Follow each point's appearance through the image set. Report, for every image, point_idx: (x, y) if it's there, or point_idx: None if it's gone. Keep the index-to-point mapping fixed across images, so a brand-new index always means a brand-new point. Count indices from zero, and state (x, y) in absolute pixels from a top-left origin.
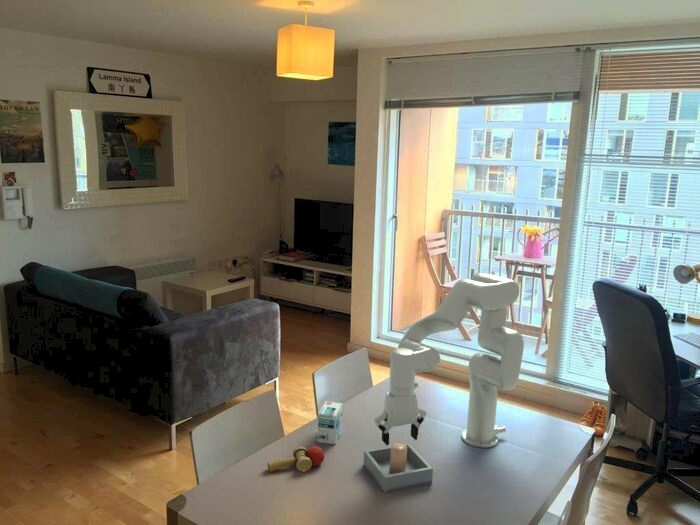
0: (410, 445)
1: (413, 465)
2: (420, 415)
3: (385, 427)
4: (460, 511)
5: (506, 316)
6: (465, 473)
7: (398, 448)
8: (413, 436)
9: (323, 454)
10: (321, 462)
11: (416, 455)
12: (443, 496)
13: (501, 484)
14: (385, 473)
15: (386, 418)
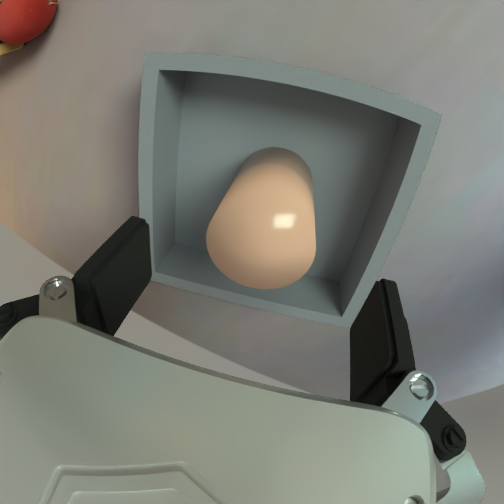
0: (431, 138)
1: (369, 187)
2: (438, 477)
3: (76, 312)
4: (307, 374)
5: None
6: (465, 298)
7: (244, 256)
8: (359, 324)
9: (29, 24)
10: (42, 31)
11: (384, 223)
12: (320, 334)
13: (465, 358)
14: (217, 170)
15: (50, 329)
